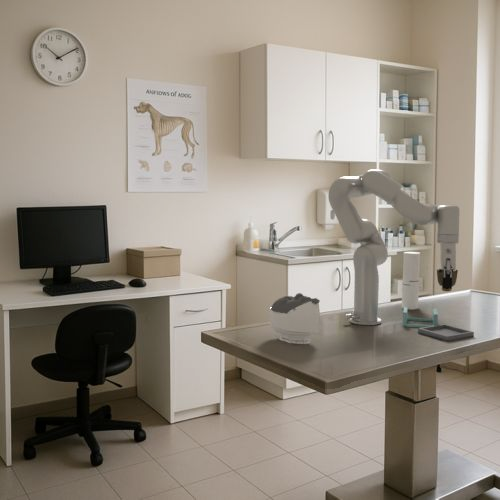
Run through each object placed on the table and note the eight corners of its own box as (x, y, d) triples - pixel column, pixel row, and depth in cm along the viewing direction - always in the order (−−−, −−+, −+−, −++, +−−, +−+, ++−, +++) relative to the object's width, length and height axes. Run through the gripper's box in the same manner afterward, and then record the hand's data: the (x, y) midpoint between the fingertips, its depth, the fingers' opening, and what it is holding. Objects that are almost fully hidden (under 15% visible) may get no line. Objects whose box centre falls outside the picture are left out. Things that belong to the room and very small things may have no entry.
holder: (437, 328, 237) (437, 314, 236) (402, 326, 240) (403, 312, 240) (436, 321, 248) (436, 308, 248) (403, 319, 252) (403, 306, 251)
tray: (446, 341, 218) (446, 336, 218) (418, 332, 230) (418, 328, 230) (473, 336, 225) (473, 331, 225) (444, 328, 237) (444, 324, 237)
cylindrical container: (418, 309, 271) (420, 253, 268) (401, 308, 272) (404, 253, 270) (417, 306, 278) (419, 252, 275) (401, 305, 279) (403, 251, 276)
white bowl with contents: (328, 342, 216) (285, 332, 230) (329, 294, 214) (286, 287, 228) (305, 349, 207) (262, 338, 220) (306, 299, 205) (262, 292, 218)
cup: (431, 290, 229) (432, 269, 228) (447, 288, 232) (447, 267, 231) (445, 293, 222) (446, 271, 221) (461, 291, 225) (462, 270, 224)
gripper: (460, 241, 215) (459, 291, 217) (456, 237, 232) (455, 283, 234) (438, 240, 217) (437, 290, 219) (436, 236, 234) (434, 282, 236)
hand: (446, 286), depth 227 cm, fingers closed on cup, 7 cm apart
